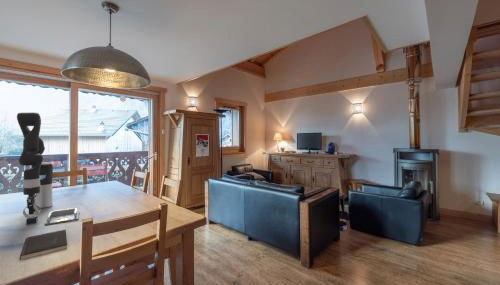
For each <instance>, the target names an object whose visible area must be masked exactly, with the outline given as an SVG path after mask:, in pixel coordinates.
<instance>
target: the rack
mask: <svg viewBox="0 0 500 285" xmlns="http://www.w3.org/2000/svg"><path fill="white" fill-rule="evenodd" d="M79 216H80V210H78V207H74V208H66V209H58V210H51V211H50V212H49V214H48V215H47V218H46V220H45V222H44V226H50V225H56V224H57V225H58V224H62V223H69V222H74V221H79Z"/></svg>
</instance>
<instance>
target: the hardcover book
mask: <svg viewBox="0 0 500 285" xmlns="http://www.w3.org/2000/svg"><path fill="white" fill-rule="evenodd" d="M67 246H68V240H67V229H62V230H56V231H52V232H45V233H40V234H37V235H31V236H27V237H26V238H25V239H24V243H23V246H22V249H21V252H20V256H19V260H20V261H21V260H23V259H28V258H32V257H35V256H40V255H43V254H47V253H52V252H56V251H60V250H64V248H65V249H66V248H67Z"/></svg>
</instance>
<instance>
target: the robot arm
mask: <svg viewBox="0 0 500 285" xmlns="http://www.w3.org/2000/svg"><path fill="white" fill-rule="evenodd" d="M16 120H17V124H18V125H19V126H18V127H19V128H20V131H21V133H22V137H23V142H22V152H21V154H20V156H19V158H18V164H20V165H21V166H24V167H26V166H29V167H30V166H31V168H28V169H25V170H23V182H22V188H23V189H22V190H23V191H22V193H23V195H24V196H27V197H26V205H27V206H26V207H27V208H26V209H27V210H28V216H33V215H34V213H35V212H36V211H35V209H34V205H38V206H39V207H40V209H45V208H49V207H52V206H53V205H54V204H53V173H54V172H53V170H54V165H53V164H52V163H51V162H45V163H44V162H43V160H44V157H43V154H44V152H45V150H46V147H45V143H44V141H43V139H42V138H41V137H39V136H40V131H41V128H42V127H41V125H42V118H41V115H40V113H39V112H34V111H33V112H31V111H30V112H18V113H17V115H16ZM29 127H32V129H30V128H29ZM40 176H45V177H43V178H41V179H40ZM30 205H32V206H30Z"/></svg>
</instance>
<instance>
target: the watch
mask: <svg viewBox="0 0 500 285" xmlns="http://www.w3.org/2000/svg"><path fill="white" fill-rule="evenodd" d="M30 206H32V205H30ZM26 209H27V206H25V208H23V210H22V214H23V216H24V217H25V218H26V219H25V225H26V226H28V225H33V224H37V222H38V221H39V220H38V219H39V215H40V213H41V211H42V208H40V207H39V206H38V205H34V209H35V212H37V213H38V214H36V215H29V214H28V213H26Z"/></svg>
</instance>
